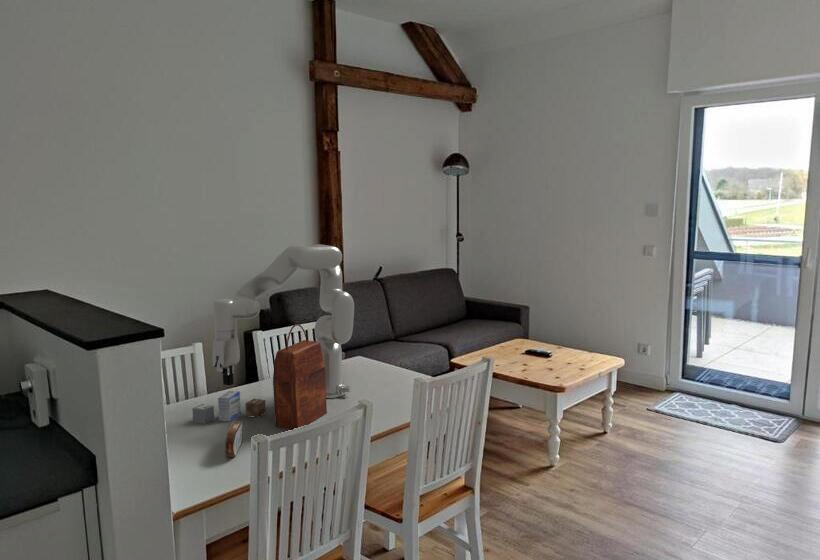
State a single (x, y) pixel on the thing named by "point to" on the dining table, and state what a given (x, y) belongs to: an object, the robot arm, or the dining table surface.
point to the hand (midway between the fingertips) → (228, 384)
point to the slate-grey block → (203, 413)
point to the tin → (234, 439)
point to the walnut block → (255, 407)
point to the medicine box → (229, 406)
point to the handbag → (299, 384)
